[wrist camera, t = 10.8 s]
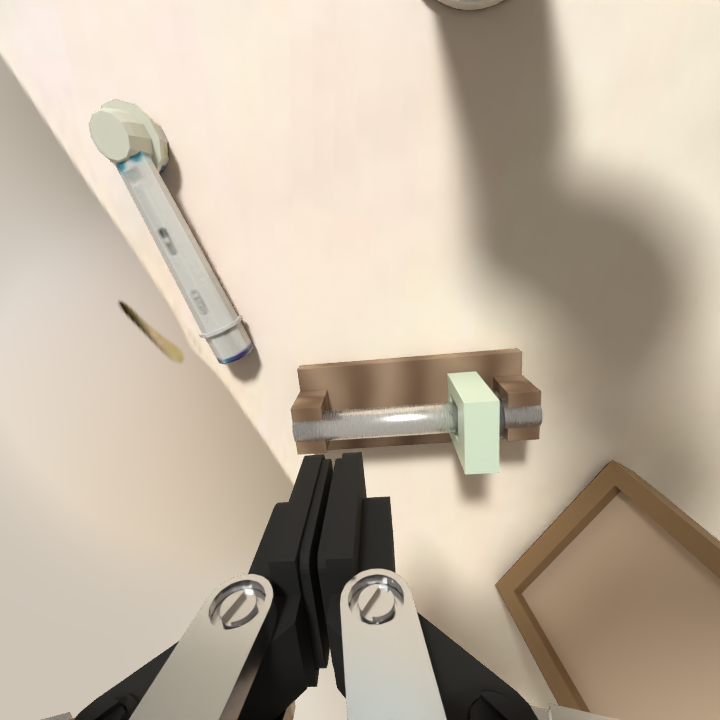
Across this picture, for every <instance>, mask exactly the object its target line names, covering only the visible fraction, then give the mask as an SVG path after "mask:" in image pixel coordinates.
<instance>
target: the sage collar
mask: <svg viewBox="0 0 720 720" xmlns="http://www.w3.org/2000/svg"><path fill="white" fill-rule="evenodd" d="M447 383H448V402H455V403H456V405H457V407H458V432H454V433H449V434H450V437H451V439H452V442H453V444H454V447H455V450H456V452H457V455H458V457H459V460H460V462H461V465H462V467H463V470H464V473H465V475H467V474H484V473H499V419H500V401H499V399H498V398H497V397H496V396H495V394H494V393H493V392H492V391H491V389H490V388H489V387H488V386H487V384H486V383H485V382H484V381H483V379H482V378H481V377H480V376H479V374H478V373H477V372H476V371H474V372H461V373H447Z"/></svg>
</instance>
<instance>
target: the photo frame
mask: <svg viewBox="0 0 720 720" xmlns="http://www.w3.org/2000/svg"><path fill="white" fill-rule="evenodd" d="M496 587H497V589H498V591H499V593H500V594H501V596H502V598H503V600H504V602H505V604H506V606H507V608H508V610H509V612H510V613H511V615H512V617H513V619H514V621H515V623H516V625H517V627H518V629H519V631H520V632H521V634H522V636H523V638H524V640H525V642H526V644H527V646H528V648H529V650H530V651H531V653H532V655H533V657H534V659H535V661H536V663H537V665H538V667H539V669H540V670H541V672H542V674H543V676H544V678H545V680H546V682H547V684H548V686H549V688H550V689H551V691H552V693H553V695H554V697H555V699H556V701H557V703H558V705H559V706H563V707H567V708H572V709H576V710H580V711H584V712H589V713H593V714H597V715H601V716H606V717H610V718H614V719H618V720H720V541H719V540H717V539H716V538H715V537H714V536H712V535H711V534H710V533H709V532H708V531H706V530H705V529H704V528H703V527H701V526H700V525H699V524H698V523H696V522H695V521H694V520H693V519H691V518H690V517H689V516H688V515H687V514H685V513H684V512H683V511H682V510H680V509H679V508H678V507H677V506H675V505H674V504H673V503H672V502H670V501H669V500H668V499H667V498H666V497H664V496H663V495H662V494H661V493H659V492H658V491H657V490H656V489H654V488H653V487H652V486H651V485H649V484H648V483H647V482H646V481H644V480H643V479H642V478H641V477H640V476H638V475H637V474H636V473H635V472H633V471H631V470H629V469H627V468H626V467H624V466H622V465H620V464H618V463H617V462H615V461H613V460H611V461H610V463H609V464H608V465H607V466H606V467H605V468H604V469H603V470H602V471H601V472H600V473H599V474H598V475H597V477H596V478H595V479H594V480H593V481H592V482H591V483H590V484H589V485H588V486H587V487H586V488H585V489H584V490H583V492H582V493H581V494H580V495H579V496H578V497H577V498H576V499H575V500H574V501H573V502H572V503H571V504H570V506H569V507H568V508H567V509H566V510H565V511H564V512H563V513H562V514H561V515H560V516H559V517H558V518H557V519H556V521H555V522H554V523H553V524H552V525H551V526H550V527H549V528H548V529H547V530H546V531H545V532H544V533H543V535H542V536H541V537H540V538H539V539H538V540H537V541H536V542H535V543H534V544H533V545H532V546H531V547H530V548H529V550H528V551H527V552H526V553H525V554H524V555H523V556H522V557H521V558H520V559H519V560H518V561H517V562H516V563H515V565H514V566H513V567H512V568H511V569H510V570H509V571H508V572H507V573H506V574H505V575H504V576H503V577H502V579H501V580H500V581H499V582H498V583H497V584H496Z"/></svg>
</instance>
